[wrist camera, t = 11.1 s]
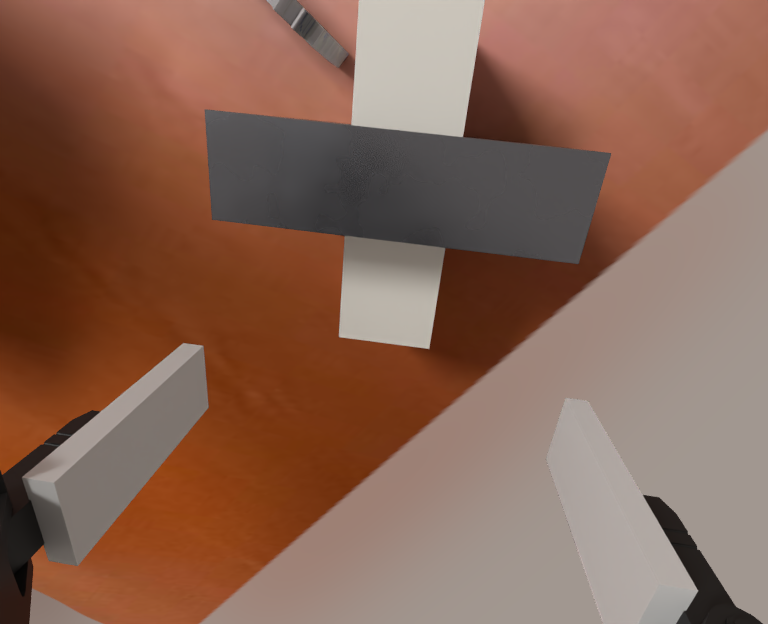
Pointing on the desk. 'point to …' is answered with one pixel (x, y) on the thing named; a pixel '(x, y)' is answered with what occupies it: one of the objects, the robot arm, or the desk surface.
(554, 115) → the desk surface
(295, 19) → the caliper
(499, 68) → the desk surface
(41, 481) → the robot arm
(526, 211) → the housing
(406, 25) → the plug
